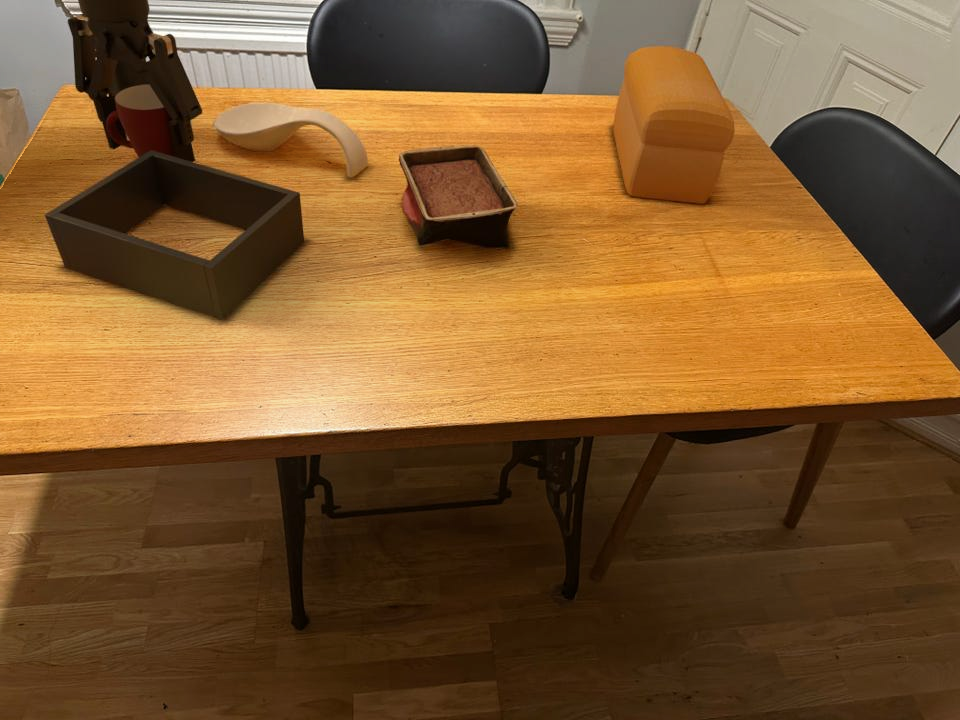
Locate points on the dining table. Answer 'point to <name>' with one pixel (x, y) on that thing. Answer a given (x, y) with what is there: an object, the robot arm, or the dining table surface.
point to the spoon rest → (286, 129)
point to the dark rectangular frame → (165, 271)
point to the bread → (670, 126)
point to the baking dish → (456, 196)
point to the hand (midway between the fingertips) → (152, 154)
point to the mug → (141, 121)
